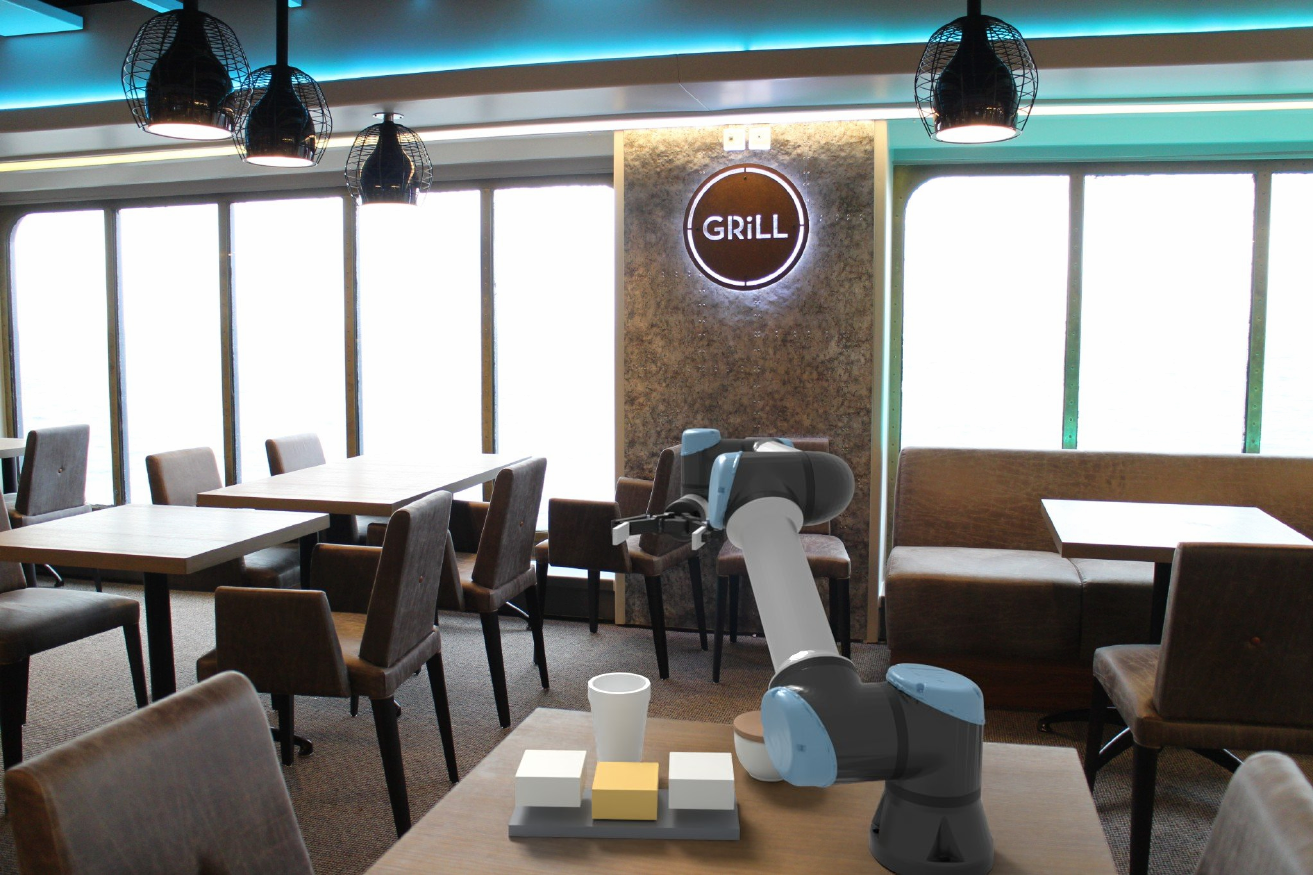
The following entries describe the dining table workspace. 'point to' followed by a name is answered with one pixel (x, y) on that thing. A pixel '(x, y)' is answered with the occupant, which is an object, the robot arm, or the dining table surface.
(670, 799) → the key
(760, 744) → the lidded jar
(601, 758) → the foam cup
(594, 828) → the keypad base
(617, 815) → the amber key
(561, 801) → the key
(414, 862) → the dining table surface
